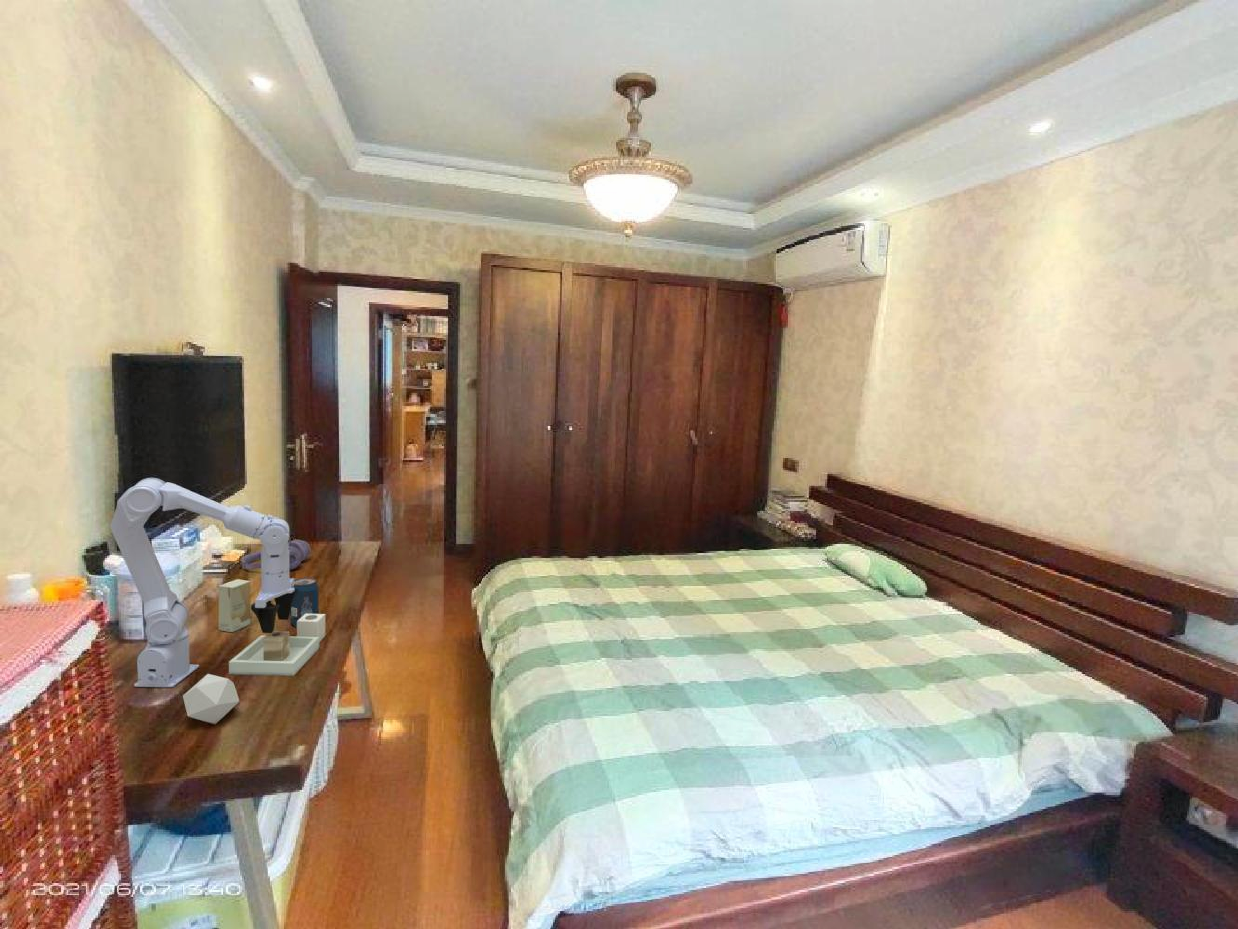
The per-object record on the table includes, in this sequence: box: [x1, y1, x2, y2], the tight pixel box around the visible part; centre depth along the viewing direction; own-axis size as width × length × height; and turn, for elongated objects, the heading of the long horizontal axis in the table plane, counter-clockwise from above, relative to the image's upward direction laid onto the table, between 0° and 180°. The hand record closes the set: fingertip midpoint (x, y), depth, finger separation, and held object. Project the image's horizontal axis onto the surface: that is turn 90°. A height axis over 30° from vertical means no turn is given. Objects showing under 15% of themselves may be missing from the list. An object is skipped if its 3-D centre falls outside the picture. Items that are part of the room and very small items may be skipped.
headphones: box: [240, 539, 312, 571], centre depth 206 cm, size 18×8×20 cm
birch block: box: [263, 630, 290, 661], centre depth 141 cm, size 4×4×6 cm
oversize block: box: [296, 613, 326, 643], centre depth 153 cm, size 5×5×6 cm
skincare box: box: [218, 578, 251, 633], centre depth 157 cm, size 6×4×12 cm
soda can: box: [289, 577, 320, 628], centre depth 162 cm, size 7×7×12 cm
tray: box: [228, 634, 320, 677], centre depth 141 cm, size 14×14×3 cm
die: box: [182, 673, 240, 725], centre depth 117 cm, size 8×9×10 cm
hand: (275, 625), depth 140 cm, fingers open, 7 cm apart
